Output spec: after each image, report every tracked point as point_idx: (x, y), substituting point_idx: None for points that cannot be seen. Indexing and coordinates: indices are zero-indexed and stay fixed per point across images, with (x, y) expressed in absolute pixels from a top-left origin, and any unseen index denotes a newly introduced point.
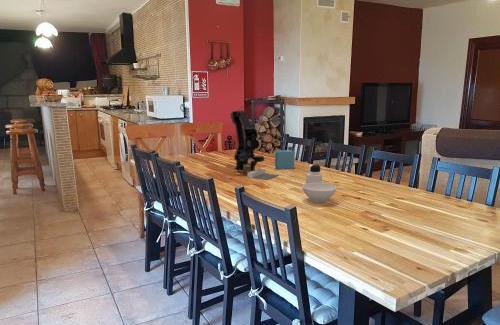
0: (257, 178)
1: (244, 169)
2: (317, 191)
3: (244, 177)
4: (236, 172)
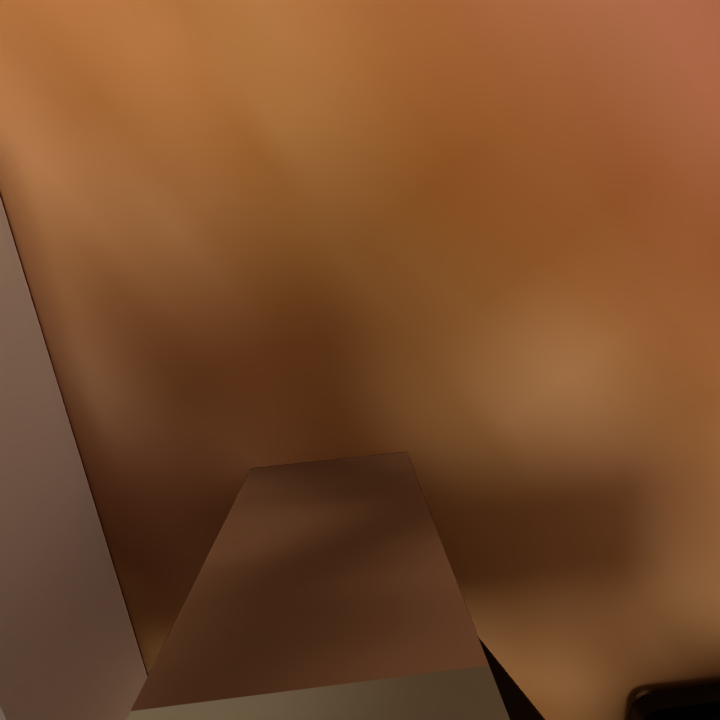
0: None
1: (391, 536)
2: None
3: (69, 110)
4: (622, 453)
